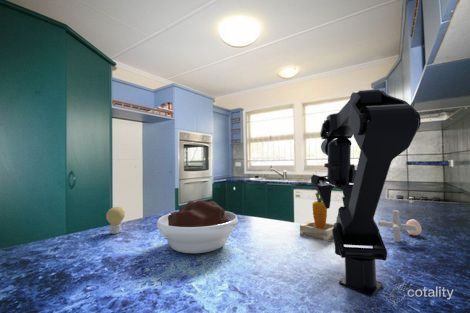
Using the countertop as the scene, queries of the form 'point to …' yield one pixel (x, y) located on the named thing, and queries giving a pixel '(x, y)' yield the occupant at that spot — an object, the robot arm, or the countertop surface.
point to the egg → (418, 227)
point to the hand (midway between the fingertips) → (337, 213)
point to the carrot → (319, 213)
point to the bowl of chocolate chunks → (197, 227)
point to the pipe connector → (396, 226)
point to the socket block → (317, 231)
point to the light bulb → (115, 219)
